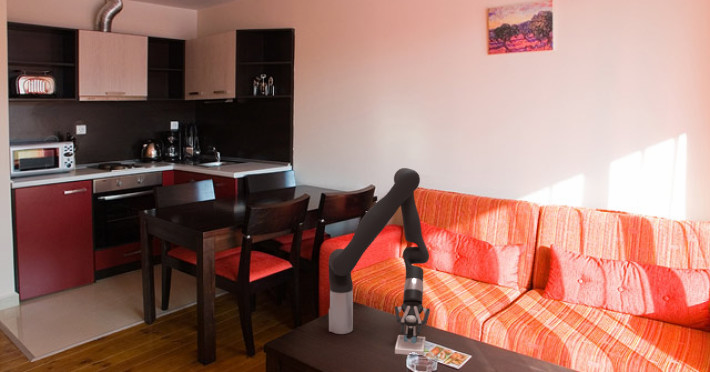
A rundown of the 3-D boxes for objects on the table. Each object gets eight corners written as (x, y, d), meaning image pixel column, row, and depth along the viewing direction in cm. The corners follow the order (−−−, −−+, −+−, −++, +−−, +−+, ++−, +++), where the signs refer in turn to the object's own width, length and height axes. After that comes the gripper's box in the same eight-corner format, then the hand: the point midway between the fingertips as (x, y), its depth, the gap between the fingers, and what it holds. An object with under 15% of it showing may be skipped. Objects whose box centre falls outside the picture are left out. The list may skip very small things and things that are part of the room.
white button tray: (394, 353, 199) (394, 349, 199) (398, 339, 211) (398, 334, 211) (423, 355, 197) (423, 351, 197) (425, 341, 209) (425, 337, 209)
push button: (422, 340, 206) (423, 316, 204) (419, 346, 201) (420, 322, 199) (405, 337, 208) (405, 313, 206) (401, 343, 203) (402, 319, 201)
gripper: (394, 287, 210) (390, 329, 200) (431, 289, 207) (429, 331, 197) (395, 295, 216) (392, 336, 206) (431, 297, 213) (430, 339, 203)
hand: (410, 333), depth 202 cm, fingers closed on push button, 5 cm apart
